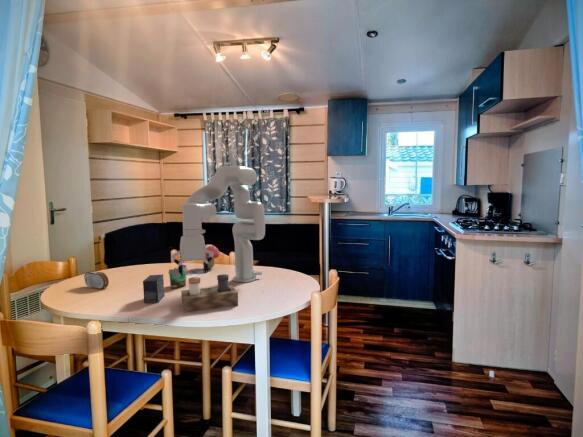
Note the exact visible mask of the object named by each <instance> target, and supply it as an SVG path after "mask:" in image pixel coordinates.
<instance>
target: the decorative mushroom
mask: <svg viewBox="0 0 583 437" xmlns="http://www.w3.org/2000/svg"><path fill="white" fill-rule="evenodd" d="M205 249H207V250H209V251H211V252H213V253H214V255H213V257H212V260H211V261H210V262H209V263H208V270H210V269H212V268H213V267H215V265H216V264H215V259H216V258H217V259H218V258H219V257H220V255H221V254H220V251H219V249H218V247H216V246H215V245H213V244H205ZM209 256H210V254H208V253H206V260H207V258H208V257H209ZM202 261H203V260H202ZM202 266H203V267H204V261H203V262H202Z"/></svg>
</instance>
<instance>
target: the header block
mask: <svg viewBox="0 0 583 437" xmlns="http://www.w3.org/2000/svg"><path fill="white" fill-rule="evenodd" d="M181 305H182V309H183V313H193V312H200V311H201V312H202V311H208V310H215V309H223V308H231V307H237V306H239V291H237V290H236V289H235V287H234V286H233V285H229V284H228V291H225V292H218V286H212V287H204V288H203V287H202V288H200V294H199V295H191V296H190V295H189V289H186V290H181Z"/></svg>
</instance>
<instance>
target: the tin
mask: <svg viewBox="0 0 583 437" xmlns="http://www.w3.org/2000/svg"><path fill="white" fill-rule="evenodd" d="M83 276H84V283H85V285H86V286H87V287H89V288H90V287H91V288H90V289H97V290H103V289H104V290H105V289H107V287H108V286H109V284H110V283H109V278H108V276H107V274H106V273H105V272H103V271H97V270H96V271H95V270H90V271H87V272H85V273H84V275H83Z"/></svg>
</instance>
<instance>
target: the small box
mask: <svg viewBox="0 0 583 437" xmlns="http://www.w3.org/2000/svg"><path fill="white" fill-rule="evenodd" d="M142 286H143V287H142V290H143V303H144V304H158V303H160V302H161V301H162V300H163V298H164V297H165V287H164V286H165V284H164V274H151V275H149V276H147V277H146V278H145V279H144V280H143V281H142Z"/></svg>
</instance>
